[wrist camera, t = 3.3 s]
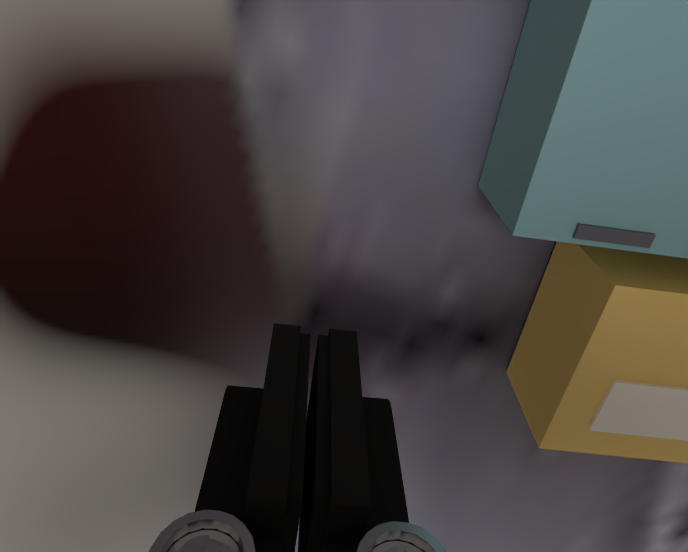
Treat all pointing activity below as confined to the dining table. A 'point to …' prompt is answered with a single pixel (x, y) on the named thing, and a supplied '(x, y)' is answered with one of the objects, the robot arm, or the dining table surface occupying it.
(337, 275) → the dining table surface
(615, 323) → the yellow labeled box
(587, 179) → the teal labeled router
